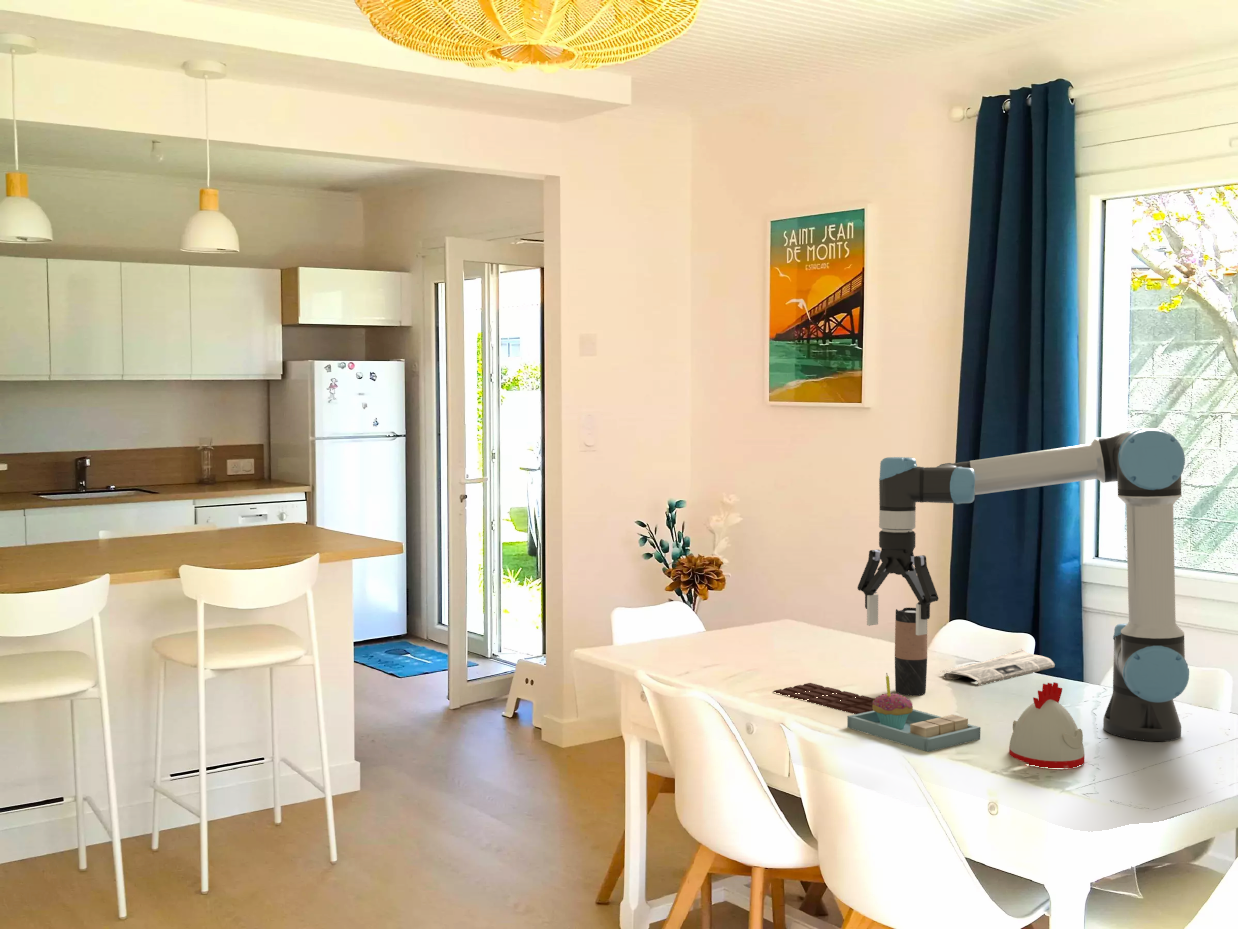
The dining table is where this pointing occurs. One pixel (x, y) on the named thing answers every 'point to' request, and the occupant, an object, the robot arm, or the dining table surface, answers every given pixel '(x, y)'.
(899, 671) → the travel mug
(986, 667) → the newspaper
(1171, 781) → the dining table surface
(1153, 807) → the dining table surface
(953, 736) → the tray
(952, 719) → the block
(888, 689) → the cupcake
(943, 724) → the block
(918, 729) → the block
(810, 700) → the chocolate bar
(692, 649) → the dining table surface
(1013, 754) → the kitchen timer
